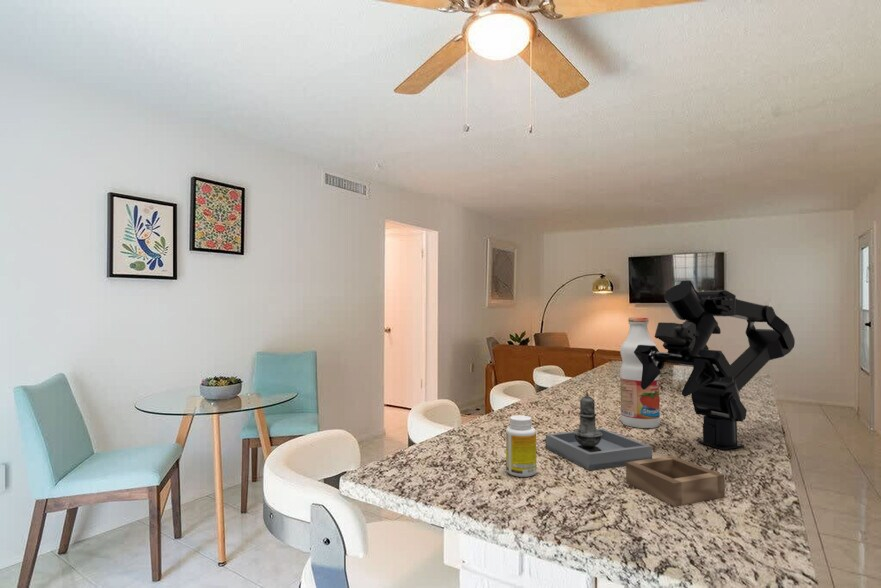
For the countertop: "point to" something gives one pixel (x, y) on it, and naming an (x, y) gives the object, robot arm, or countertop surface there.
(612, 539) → the countertop surface
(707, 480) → the walnut collar
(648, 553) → the countertop surface
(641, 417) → the fruit juice
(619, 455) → the charcoal tray
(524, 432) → the supplement bottle
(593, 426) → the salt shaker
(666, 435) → the countertop surface
